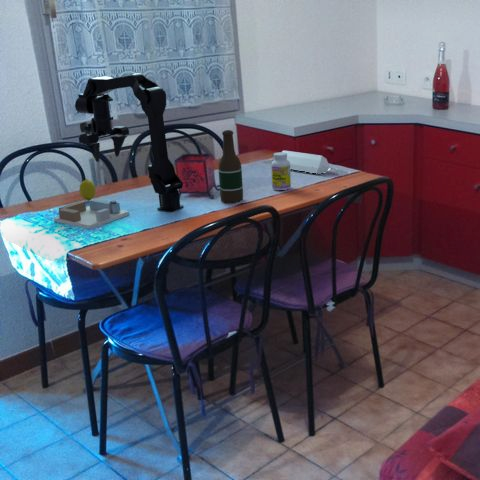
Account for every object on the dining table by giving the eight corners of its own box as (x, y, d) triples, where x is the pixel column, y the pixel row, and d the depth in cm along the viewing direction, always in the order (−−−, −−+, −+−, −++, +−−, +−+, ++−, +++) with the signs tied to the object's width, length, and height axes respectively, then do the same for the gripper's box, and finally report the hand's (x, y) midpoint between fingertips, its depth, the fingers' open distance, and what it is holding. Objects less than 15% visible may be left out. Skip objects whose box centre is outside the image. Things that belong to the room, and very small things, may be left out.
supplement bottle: (269, 190, 244) (268, 155, 240) (275, 186, 250) (274, 151, 246) (287, 191, 242) (286, 155, 238) (293, 186, 248) (292, 151, 244)
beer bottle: (216, 201, 235) (211, 131, 227) (231, 196, 241) (227, 128, 233) (232, 205, 230) (227, 133, 222) (248, 199, 235) (244, 129, 228)
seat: (129, 214, 226) (128, 202, 225) (90, 229, 214) (88, 216, 212) (93, 207, 236) (92, 196, 235) (54, 221, 224) (52, 209, 222)
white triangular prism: (270, 160, 274) (317, 167, 258) (280, 148, 277) (327, 154, 261) (277, 174, 279) (323, 181, 263) (286, 162, 282) (333, 169, 265)
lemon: (93, 203, 243) (90, 181, 240) (78, 203, 244) (75, 181, 241) (99, 198, 248) (96, 177, 245) (85, 198, 249) (82, 177, 246)
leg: (120, 211, 225) (119, 201, 224) (114, 213, 223) (113, 203, 222) (96, 206, 232) (94, 196, 231) (89, 209, 230) (88, 198, 229)
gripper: (106, 109, 248) (111, 151, 253) (65, 117, 235) (71, 162, 240) (127, 110, 242) (132, 154, 247) (87, 119, 228) (93, 165, 233)
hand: (107, 158), depth 242 cm, fingers open, 9 cm apart
